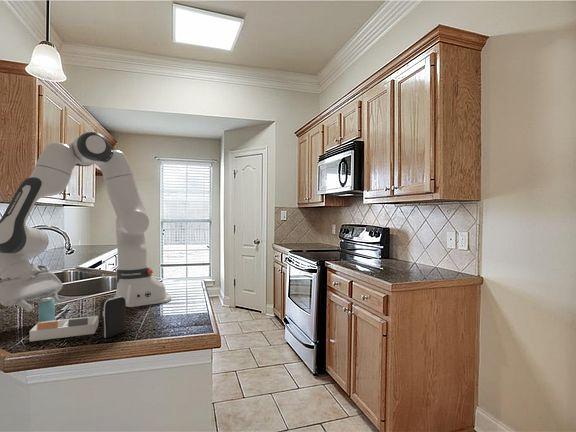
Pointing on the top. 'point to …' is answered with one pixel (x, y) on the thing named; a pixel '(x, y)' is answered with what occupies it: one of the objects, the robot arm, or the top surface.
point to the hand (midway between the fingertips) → (45, 306)
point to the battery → (113, 316)
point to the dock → (64, 328)
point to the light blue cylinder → (47, 309)
